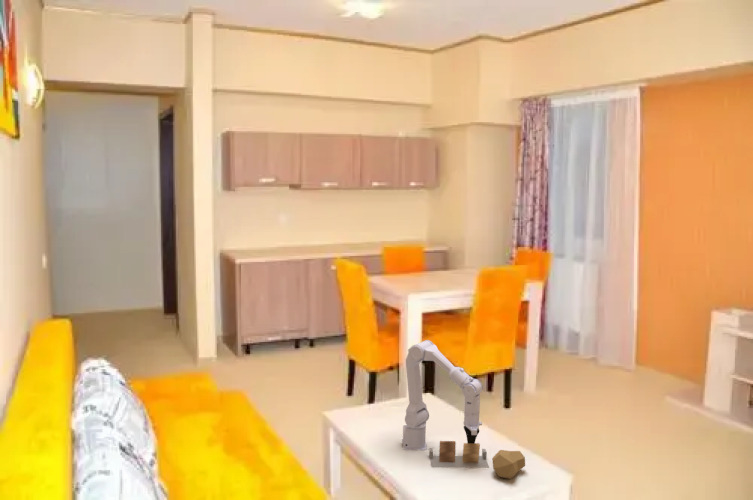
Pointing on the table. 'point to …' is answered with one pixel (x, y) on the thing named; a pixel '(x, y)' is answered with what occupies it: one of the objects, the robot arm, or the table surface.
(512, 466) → the low-poly potato
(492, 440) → the table surface
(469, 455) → the oak tile
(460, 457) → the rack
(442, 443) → the walnut tile
